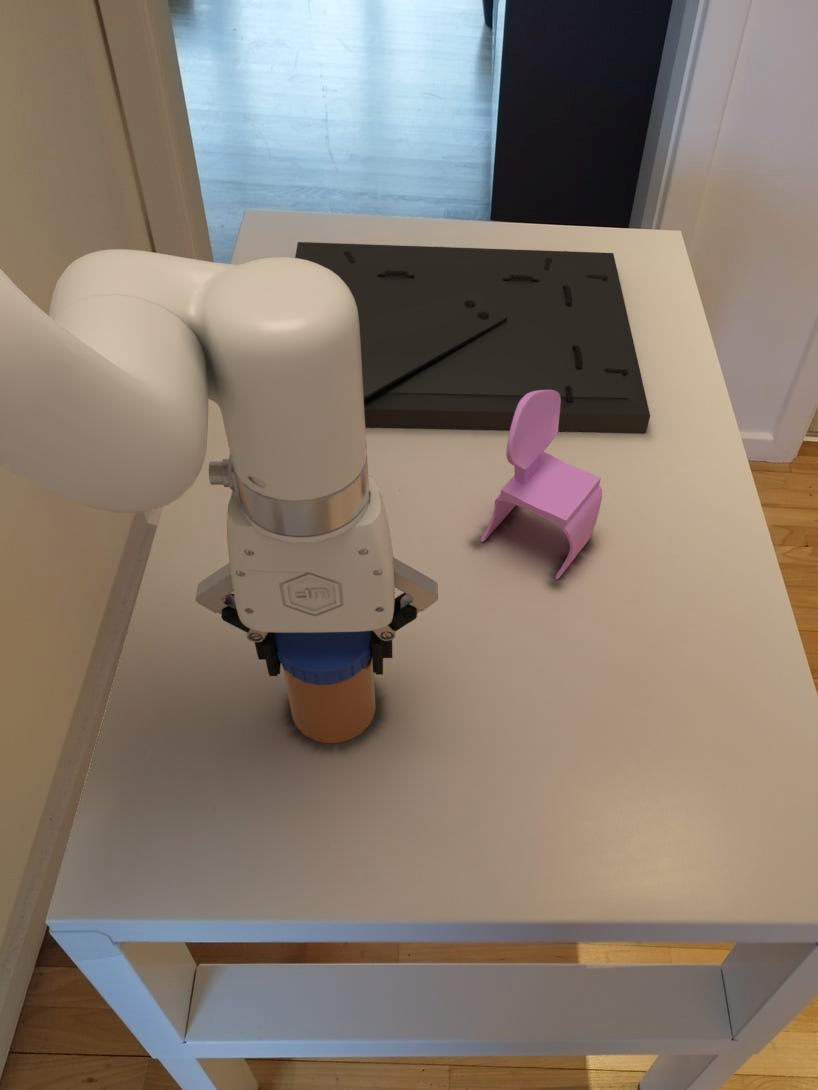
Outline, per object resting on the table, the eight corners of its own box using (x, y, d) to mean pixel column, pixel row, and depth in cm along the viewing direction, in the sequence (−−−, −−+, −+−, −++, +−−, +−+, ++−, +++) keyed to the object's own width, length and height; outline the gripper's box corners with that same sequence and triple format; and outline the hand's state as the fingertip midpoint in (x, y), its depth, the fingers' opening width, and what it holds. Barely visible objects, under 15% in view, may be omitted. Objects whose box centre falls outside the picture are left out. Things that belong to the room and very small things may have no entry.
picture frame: (273, 425, 92) (645, 433, 94) (268, 395, 89) (653, 405, 92) (299, 259, 110) (610, 270, 113) (296, 231, 108) (615, 242, 110)
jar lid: (272, 686, 63) (269, 672, 62) (280, 608, 67) (277, 593, 66) (373, 684, 64) (372, 671, 62) (375, 607, 68) (374, 593, 67)
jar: (288, 744, 70) (273, 674, 62) (294, 673, 74) (280, 600, 66) (375, 742, 70) (370, 672, 63) (376, 672, 74) (371, 599, 67)
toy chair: (557, 589, 81) (581, 461, 69) (473, 547, 83) (483, 417, 71) (600, 533, 85) (630, 404, 73) (519, 495, 88) (535, 364, 76)
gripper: (139, 526, 50) (200, 704, 64) (455, 526, 51) (447, 700, 65) (160, 436, 54) (213, 620, 69) (450, 437, 56) (443, 618, 70)
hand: (327, 658), depth 67 cm, fingers closed on jar lid, 6 cm apart
